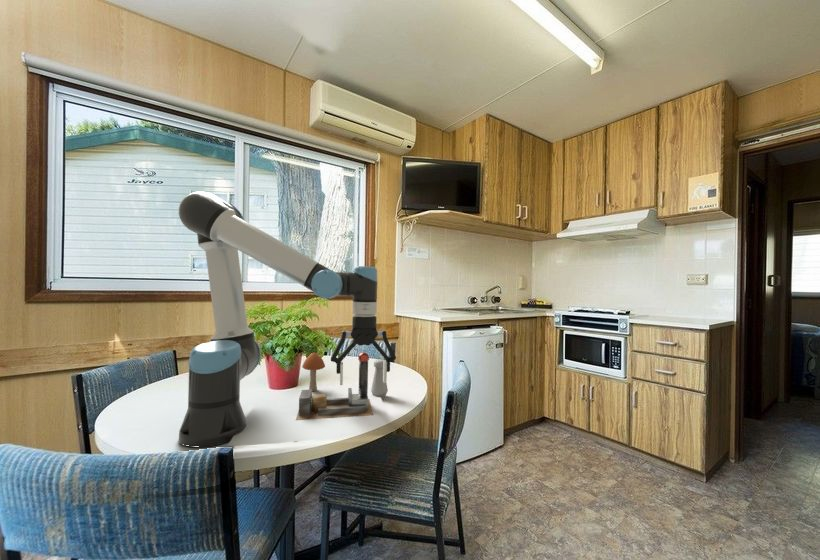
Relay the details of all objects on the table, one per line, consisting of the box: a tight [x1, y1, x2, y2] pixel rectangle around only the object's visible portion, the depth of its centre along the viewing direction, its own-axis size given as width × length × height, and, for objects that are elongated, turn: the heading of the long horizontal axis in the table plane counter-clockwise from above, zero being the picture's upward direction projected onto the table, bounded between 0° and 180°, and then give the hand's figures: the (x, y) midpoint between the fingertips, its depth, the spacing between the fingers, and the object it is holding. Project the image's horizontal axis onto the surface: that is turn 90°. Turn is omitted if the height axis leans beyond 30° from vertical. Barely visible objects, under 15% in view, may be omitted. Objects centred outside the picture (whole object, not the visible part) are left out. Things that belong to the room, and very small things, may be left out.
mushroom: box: [301, 351, 326, 393], centre depth 121 cm, size 8×8×15 cm
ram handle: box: [347, 351, 370, 409], centre depth 106 cm, size 6×6×17 cm
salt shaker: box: [370, 359, 389, 399], centre depth 119 cm, size 6×6×13 cm
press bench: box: [295, 389, 375, 421], centre depth 104 cm, size 22×14×6 cm, turn 102°
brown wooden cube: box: [312, 393, 328, 412], centre depth 103 cm, size 4×4×4 cm
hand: (363, 383), depth 106 cm, fingers open, 13 cm apart
